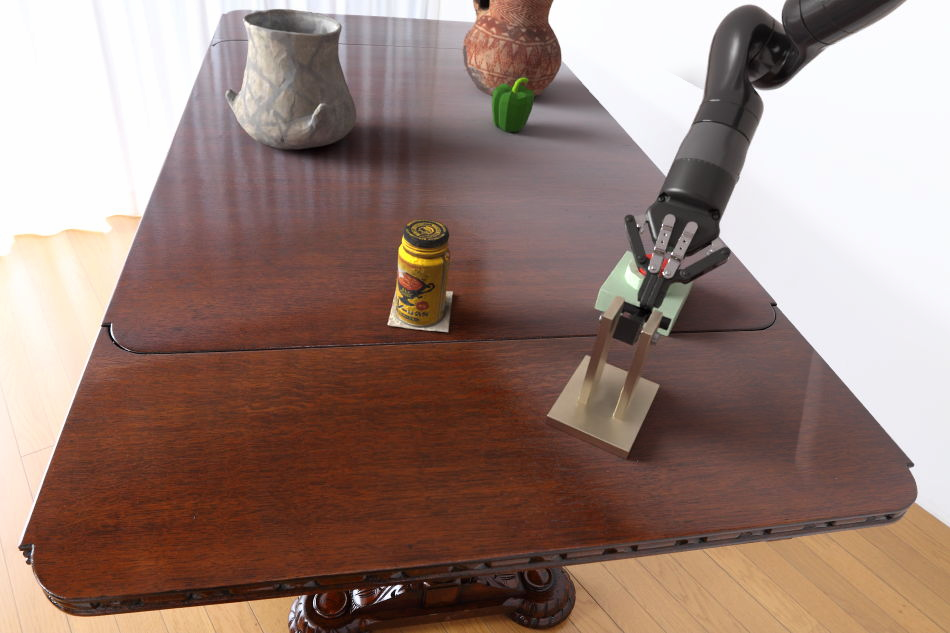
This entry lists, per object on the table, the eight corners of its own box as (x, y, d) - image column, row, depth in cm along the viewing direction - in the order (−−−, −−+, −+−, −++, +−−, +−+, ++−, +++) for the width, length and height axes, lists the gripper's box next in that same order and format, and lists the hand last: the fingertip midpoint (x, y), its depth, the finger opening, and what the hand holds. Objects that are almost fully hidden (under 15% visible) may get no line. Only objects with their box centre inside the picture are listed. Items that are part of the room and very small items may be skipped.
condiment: (387, 326, 81) (392, 240, 74) (396, 286, 88) (401, 204, 81) (447, 333, 81) (458, 248, 74) (452, 293, 88) (462, 211, 81)
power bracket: (583, 362, 80) (609, 271, 73) (657, 392, 78) (691, 301, 70) (544, 423, 71) (569, 327, 64) (626, 460, 69) (662, 364, 61)
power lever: (616, 314, 79) (623, 295, 78) (666, 333, 77) (673, 314, 77) (593, 330, 68) (602, 308, 67) (651, 353, 66) (660, 330, 65)
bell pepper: (492, 134, 133) (499, 84, 127) (485, 119, 140) (491, 69, 134) (533, 137, 135) (542, 87, 129) (524, 121, 141) (533, 73, 135)
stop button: (643, 261, 92) (646, 250, 90) (669, 271, 90) (673, 260, 89) (635, 273, 89) (639, 262, 88) (662, 283, 88) (666, 272, 87)
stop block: (621, 269, 98) (630, 239, 95) (689, 293, 95) (700, 263, 92) (594, 308, 89) (603, 277, 86) (667, 337, 86) (679, 305, 83)
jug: (559, 86, 163) (582, -29, 148) (547, 114, 146) (571, -12, 131) (470, 68, 166) (483, -46, 151) (448, 94, 149) (460, -31, 134)
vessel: (248, 107, 129) (239, -6, 117) (365, 123, 130) (368, 12, 118) (208, 154, 112) (193, 26, 100) (343, 171, 113) (344, 47, 101)
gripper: (649, 141, 77) (588, 279, 75) (767, 176, 73) (705, 323, 71) (649, 169, 84) (593, 295, 82) (756, 202, 80) (700, 336, 78)
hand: (645, 308), depth 77 cm, fingers closed
